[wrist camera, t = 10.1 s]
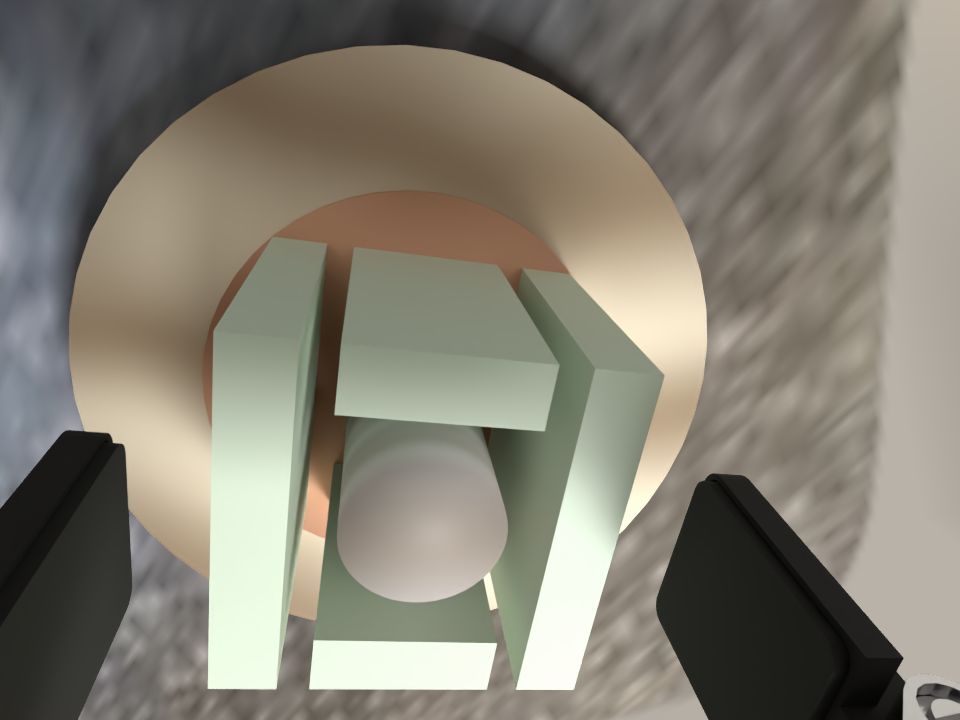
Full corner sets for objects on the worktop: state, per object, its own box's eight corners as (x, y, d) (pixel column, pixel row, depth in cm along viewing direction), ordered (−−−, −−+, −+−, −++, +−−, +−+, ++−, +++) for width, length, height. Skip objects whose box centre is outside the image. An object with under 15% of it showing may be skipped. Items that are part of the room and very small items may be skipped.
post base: (74, -18, 14) (-210, -100, 7) (757, 109, 17) (1007, 135, 10) (107, 583, 20) (-33, 849, 13) (610, 599, 23) (708, 820, 16)
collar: (272, 236, 15) (213, 330, 10) (569, 273, 16) (664, 375, 11) (260, 498, 18) (208, 689, 12) (517, 511, 19) (573, 689, 14)
